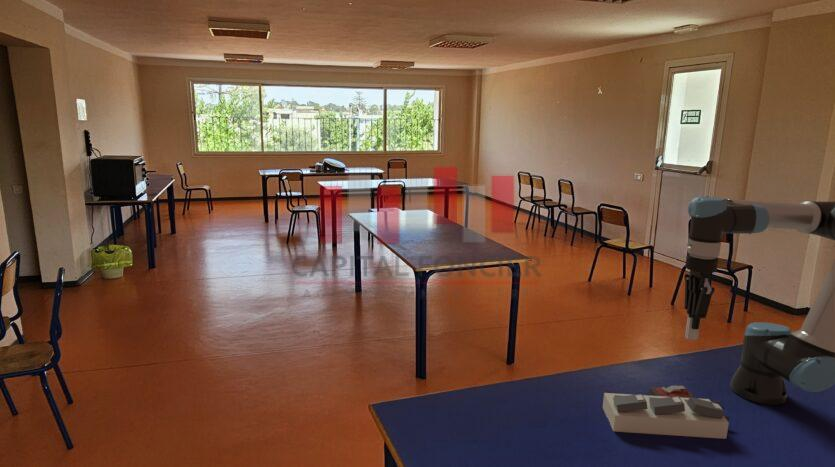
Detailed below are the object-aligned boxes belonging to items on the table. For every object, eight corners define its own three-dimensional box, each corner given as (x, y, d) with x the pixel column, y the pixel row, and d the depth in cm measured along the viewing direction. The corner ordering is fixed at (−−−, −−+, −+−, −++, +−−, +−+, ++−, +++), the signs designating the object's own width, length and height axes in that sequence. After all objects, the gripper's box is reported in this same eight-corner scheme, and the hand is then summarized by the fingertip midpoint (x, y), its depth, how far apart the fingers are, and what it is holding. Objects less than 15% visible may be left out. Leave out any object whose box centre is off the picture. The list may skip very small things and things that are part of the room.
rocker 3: (715, 411, 145) (718, 403, 145) (721, 419, 142) (725, 410, 141) (686, 404, 146) (690, 396, 145) (692, 411, 142) (696, 403, 141)
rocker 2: (679, 403, 146) (678, 395, 145) (685, 411, 142) (684, 402, 142) (650, 407, 147) (649, 398, 147) (654, 414, 143) (653, 406, 143)
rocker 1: (642, 401, 147) (641, 393, 146) (647, 409, 143) (646, 400, 143) (613, 404, 148) (612, 396, 148) (617, 412, 144) (616, 404, 144)
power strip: (717, 415, 152) (719, 399, 151) (737, 439, 141) (740, 422, 140) (602, 407, 156) (604, 392, 154) (613, 431, 144) (615, 414, 143)
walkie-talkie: (658, 410, 155) (721, 408, 157) (659, 397, 154) (723, 395, 156) (643, 395, 164) (704, 393, 165) (645, 382, 163) (705, 380, 164)
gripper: (678, 248, 144) (668, 328, 149) (698, 261, 131) (686, 347, 136) (706, 249, 143) (695, 329, 148) (729, 262, 130) (716, 349, 135)
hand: (691, 338), depth 142 cm, fingers closed
